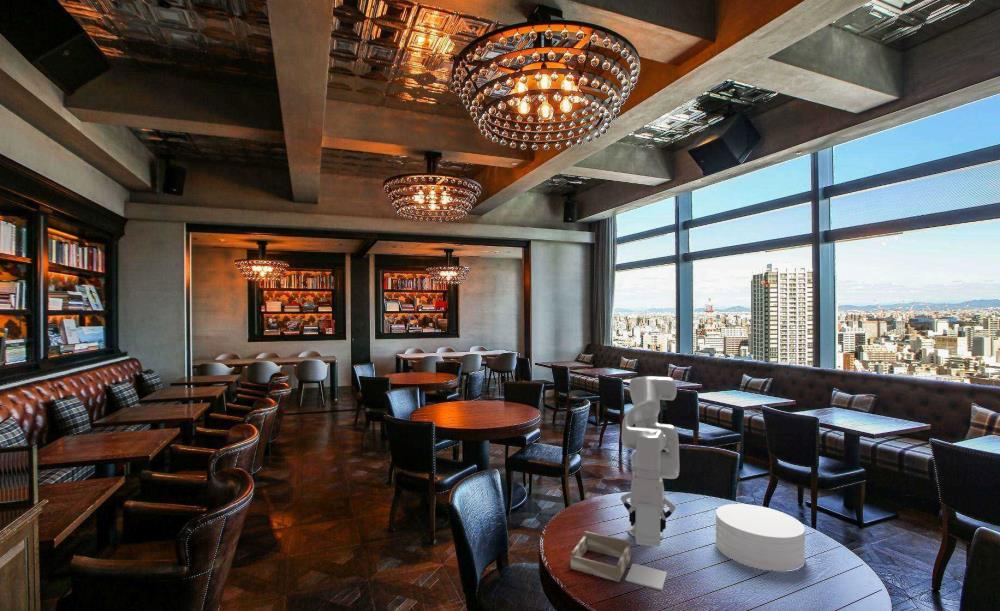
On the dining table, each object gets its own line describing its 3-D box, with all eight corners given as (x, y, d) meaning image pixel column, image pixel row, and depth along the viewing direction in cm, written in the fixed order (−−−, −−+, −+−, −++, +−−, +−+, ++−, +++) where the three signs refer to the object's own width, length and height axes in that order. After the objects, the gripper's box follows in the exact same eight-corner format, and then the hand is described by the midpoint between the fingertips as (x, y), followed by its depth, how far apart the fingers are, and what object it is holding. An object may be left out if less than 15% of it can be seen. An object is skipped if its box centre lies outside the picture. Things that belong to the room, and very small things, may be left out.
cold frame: (585, 547, 171) (585, 530, 171) (630, 559, 164) (630, 541, 164) (570, 568, 157) (570, 550, 157) (619, 581, 150) (619, 562, 150)
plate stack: (719, 527, 190) (719, 498, 191) (802, 545, 177) (802, 514, 177) (711, 557, 166) (711, 524, 166) (807, 581, 152) (807, 545, 152)
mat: (632, 564, 160) (632, 563, 160) (667, 573, 155) (667, 571, 155) (625, 580, 150) (625, 579, 150) (661, 590, 145) (661, 589, 145)
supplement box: (660, 547, 148) (661, 506, 149) (635, 544, 150) (636, 504, 150) (657, 536, 156) (658, 497, 156) (634, 534, 157) (634, 495, 158)
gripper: (618, 471, 154) (617, 526, 154) (675, 481, 146) (674, 538, 146) (623, 465, 161) (622, 517, 160) (678, 474, 153) (677, 529, 152)
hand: (647, 527), depth 153 cm, fingers closed on supplement box, 8 cm apart
